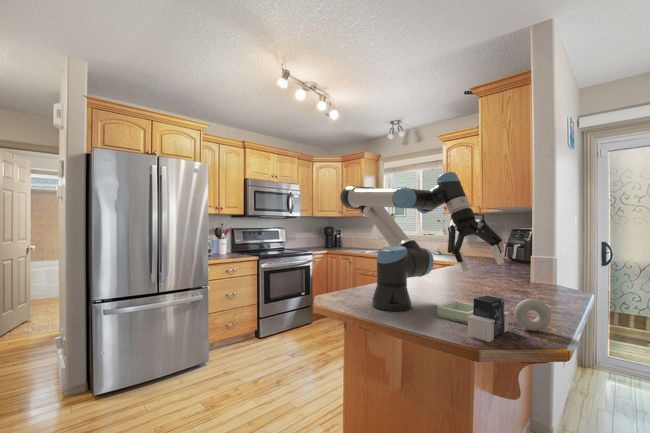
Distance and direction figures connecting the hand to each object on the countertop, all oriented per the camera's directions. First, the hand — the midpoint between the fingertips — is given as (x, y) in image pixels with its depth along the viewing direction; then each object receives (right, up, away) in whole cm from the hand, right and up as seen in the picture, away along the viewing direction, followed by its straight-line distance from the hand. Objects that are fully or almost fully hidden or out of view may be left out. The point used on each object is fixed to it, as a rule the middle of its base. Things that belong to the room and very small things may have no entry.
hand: (484, 267), depth 105 cm
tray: (-6, -18, +4) cm, 20 cm away
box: (-5, -18, -12) cm, 22 cm away
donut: (+10, -18, -10) cm, 23 cm away
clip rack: (-5, -18, -12) cm, 22 cm away
